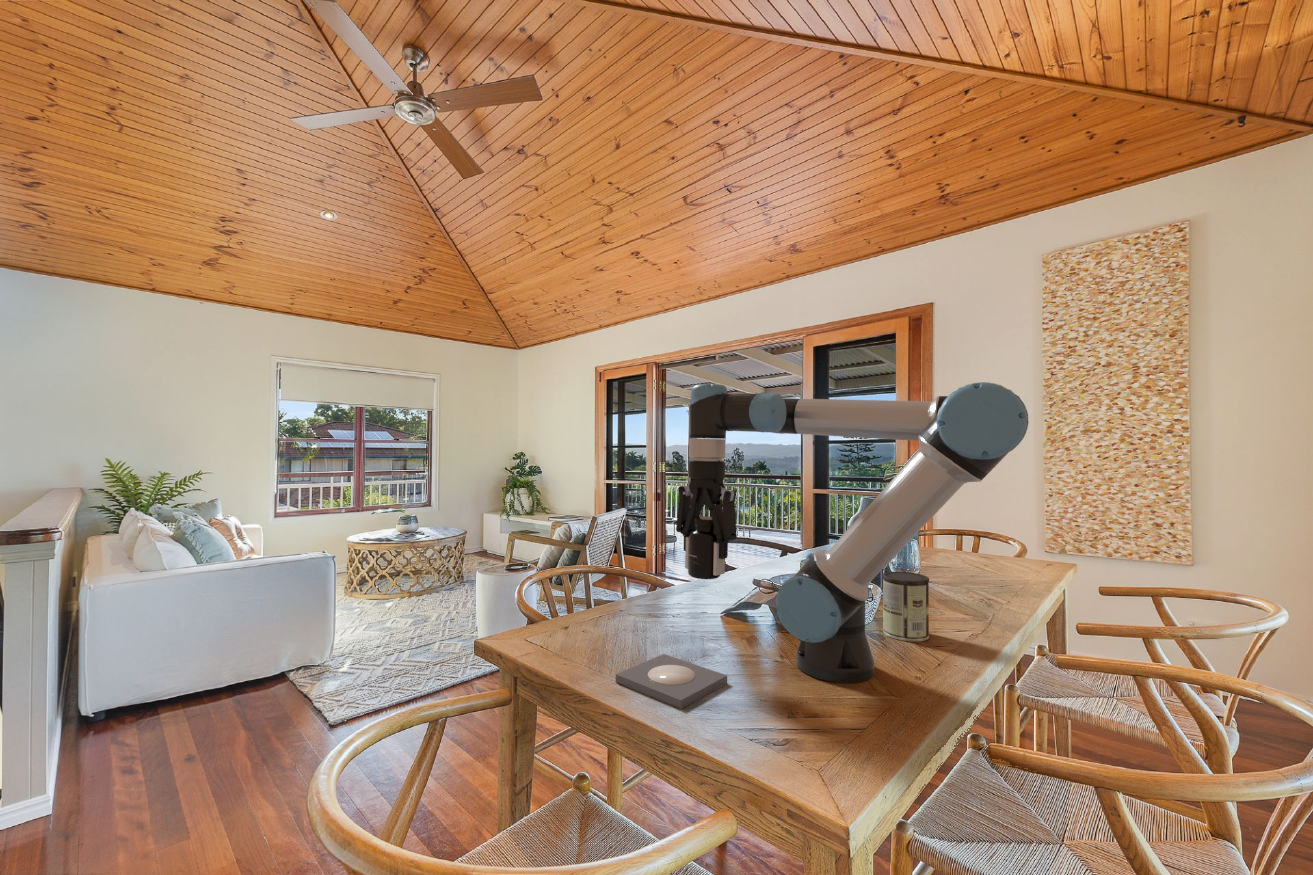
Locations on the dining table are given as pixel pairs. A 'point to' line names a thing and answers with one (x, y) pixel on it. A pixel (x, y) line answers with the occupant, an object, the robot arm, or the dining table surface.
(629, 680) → the board
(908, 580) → the coffee can
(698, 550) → the supplement bottle
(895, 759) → the dining table surface
